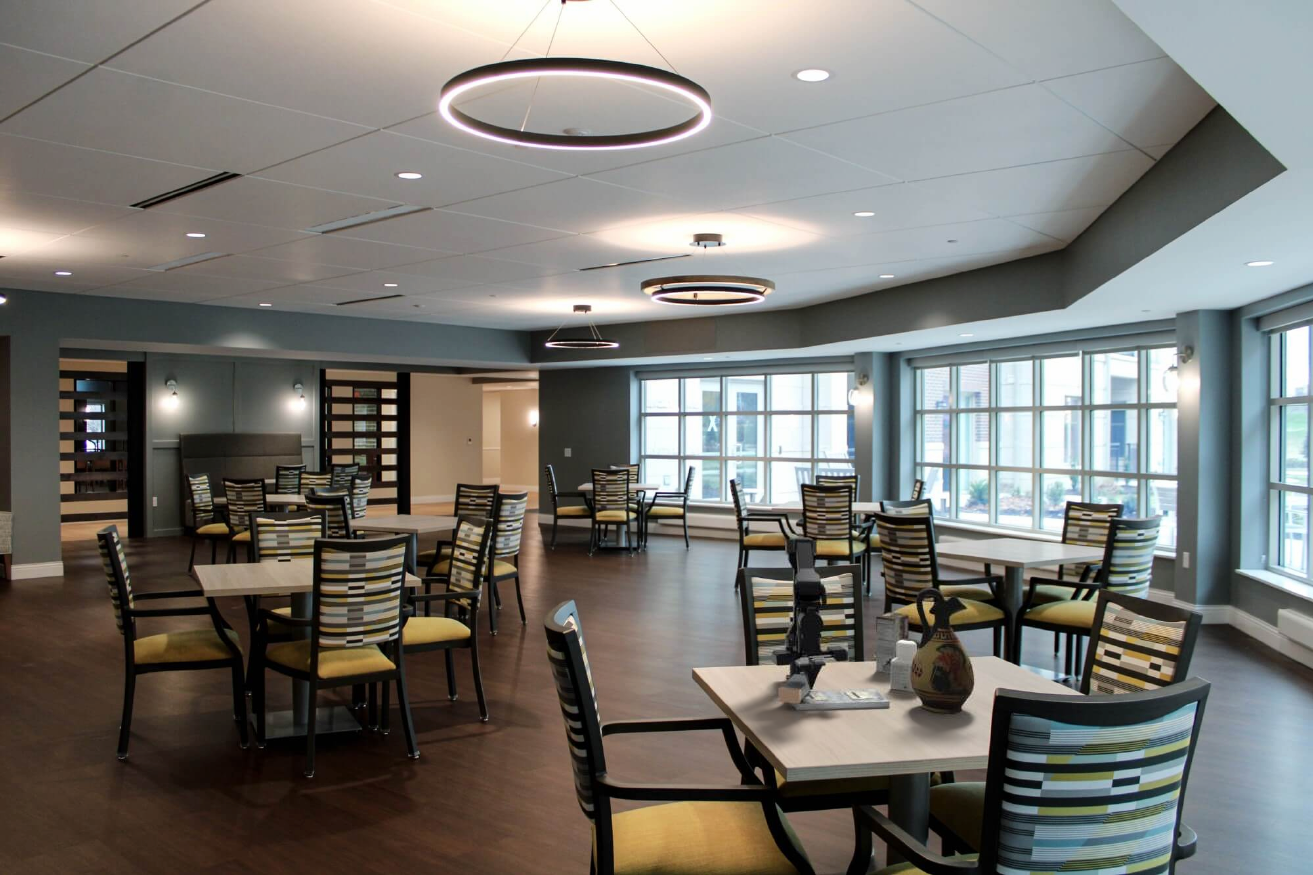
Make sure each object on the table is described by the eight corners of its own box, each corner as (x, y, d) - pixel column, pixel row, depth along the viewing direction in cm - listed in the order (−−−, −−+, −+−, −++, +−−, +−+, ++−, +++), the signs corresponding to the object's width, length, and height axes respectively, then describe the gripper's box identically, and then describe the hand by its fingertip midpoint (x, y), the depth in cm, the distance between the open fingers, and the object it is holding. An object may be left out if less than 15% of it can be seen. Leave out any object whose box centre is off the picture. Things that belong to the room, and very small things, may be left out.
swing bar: (795, 690, 256) (795, 671, 256) (815, 692, 254) (815, 672, 254) (778, 709, 238) (778, 687, 238) (799, 711, 236) (799, 689, 236)
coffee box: (889, 665, 286) (889, 611, 287) (909, 668, 282) (909, 614, 282) (875, 671, 279) (875, 615, 279) (895, 674, 275) (895, 618, 275)
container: (898, 682, 266) (898, 636, 266) (926, 686, 262) (926, 639, 262) (890, 689, 259) (890, 640, 259) (918, 692, 255) (918, 644, 255)
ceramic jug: (972, 702, 246) (972, 585, 246) (975, 719, 231) (975, 595, 231) (904, 697, 251) (904, 583, 251) (903, 713, 236) (903, 591, 236)
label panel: (784, 697, 250) (784, 690, 250) (873, 694, 253) (873, 688, 253) (796, 710, 239) (796, 702, 239) (889, 707, 241) (889, 700, 241)
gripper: (833, 620, 253) (836, 679, 253) (765, 624, 251) (767, 684, 251) (847, 628, 242) (850, 689, 242) (775, 632, 240) (778, 695, 240)
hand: (811, 689), depth 244 cm, fingers closed
